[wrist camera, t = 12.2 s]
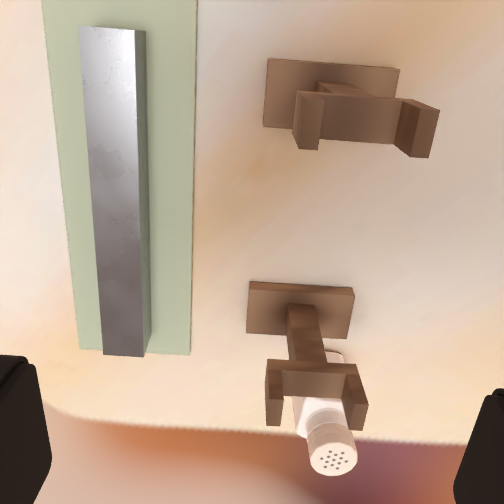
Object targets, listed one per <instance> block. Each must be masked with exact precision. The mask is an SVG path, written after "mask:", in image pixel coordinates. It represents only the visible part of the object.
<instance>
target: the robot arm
mask: <svg viewBox="0 0 504 504" xmlns="http://www.w3.org/2000/svg"><path fill="white" fill-rule="evenodd" d="M51 462H52V453H51V447H50V442H49V437H48V431H47V426H46V420H45V415H44V410H43V404H42V399H41V393H40V388H39V383H38V377H37V372H36V368H35V366H34V365H33V364H29V363H28V360H27V358H26V357H23V356H12V355H0V504H33V503H34V501H35V499H36V497H37V495H38V493H39V491H40V489H41V487H42V485H43V483H44V481H45V479H46V477H47V475H48V473H49V470H50V467H51ZM453 491H454V498H455V501H456V504H504V389H501V388H499V389H496V390H494V392H493V393H492V395H487V396H486V397H485V399H484V401H483V404H482V406H481V409H480V412H479V415H478V417H477V420H476V423H475V426H474V428H473V431H472V434H471V437H470V440H469V442H468V445H467V448H466V451H465V453H464V456H463V459H462V462H461V464H460V467H459V470H458V473H457V475H456V478H455V481H454V486H453Z"/></svg>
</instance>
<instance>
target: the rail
mask: <svg viewBox="0 0 504 504" xmlns="http://www.w3.org/2000/svg"><path fill="white" fill-rule="evenodd" d="M78 33H79V46H80V59H81V72H82V85H83V98H84V111H85V124H86V137H87V150H88V163H89V176H90V189H91V202H92V215H93V228H94V241H95V254H96V267H97V280H98V293H99V306H100V319H101V332H102V345H103V355H115V356H132V357H144V355H145V352H146V349H147V346H148V343H149V340H150V337H151V334H152V320H151V270H150V219H149V168H148V117H147V66H146V31H142V30H130V29H119V28H107V27H95V26H78Z"/></svg>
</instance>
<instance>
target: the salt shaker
mask: <svg viewBox="0 0 504 504" xmlns="http://www.w3.org/2000/svg"><path fill="white" fill-rule="evenodd" d="M325 354H326V358H327V362H329V363H345V362H344V359H343V356H342V355H341V354H339V353H335V352H327V351H325ZM292 402H293V411H294V420H295V429H296V432H297V434H299V435H300V436H301V437H304V438H307V442H308V448H309V455H310V463H311V466H312V467H313V468H314V469H315V470H316V471H317V472H318V473H321V474H324V475H327V476H335V475H342V474H344V473H346V472H348V471H350V470H351V469H352V468H353V467H354V466H355V464H356V463H357V450H356V447H355V443H354V439H353V435H352V432H351V430H349V429H348V425H347V421H346V417H345V413H344V409H343V405H342V401H341V399H333V398H315V397H297V396H292Z"/></svg>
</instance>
